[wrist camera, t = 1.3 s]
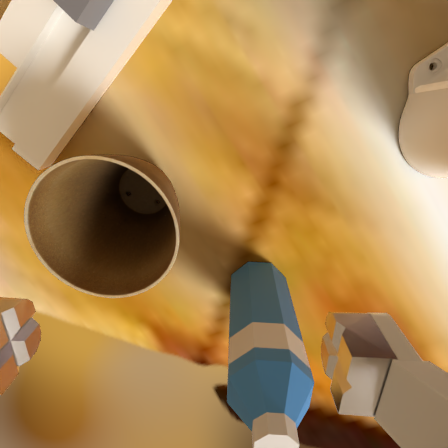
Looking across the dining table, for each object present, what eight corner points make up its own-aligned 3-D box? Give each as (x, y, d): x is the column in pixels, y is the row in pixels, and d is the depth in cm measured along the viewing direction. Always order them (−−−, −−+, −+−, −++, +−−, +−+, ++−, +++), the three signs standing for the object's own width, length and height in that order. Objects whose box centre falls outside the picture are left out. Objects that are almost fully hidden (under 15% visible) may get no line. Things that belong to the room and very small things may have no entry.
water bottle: (239, 315, 52) (242, 489, 29) (220, 270, 48) (205, 425, 25) (293, 300, 50) (341, 472, 27) (277, 252, 47) (315, 401, 24)
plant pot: (145, 253, 48) (105, 321, 33) (74, 180, 44) (-8, 220, 29) (219, 198, 44) (210, 247, 29) (148, 112, 40) (96, 119, 25)
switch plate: (92, -103, 32) (78, -124, 29) (178, -9, 35) (173, -19, 32) (-27, 102, 40) (-47, 103, 37) (51, 165, 43) (37, 170, 40)
